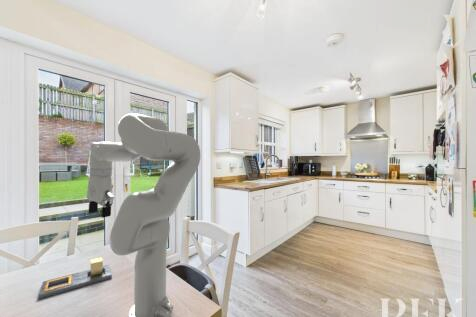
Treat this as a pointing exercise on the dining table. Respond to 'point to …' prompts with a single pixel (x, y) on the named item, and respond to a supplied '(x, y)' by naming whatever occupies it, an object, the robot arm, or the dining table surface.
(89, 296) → the dining table surface
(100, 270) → the brass plug
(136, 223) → the robot arm
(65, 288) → the socket plate
